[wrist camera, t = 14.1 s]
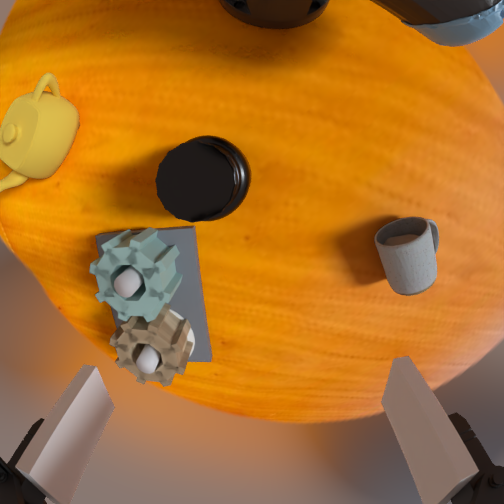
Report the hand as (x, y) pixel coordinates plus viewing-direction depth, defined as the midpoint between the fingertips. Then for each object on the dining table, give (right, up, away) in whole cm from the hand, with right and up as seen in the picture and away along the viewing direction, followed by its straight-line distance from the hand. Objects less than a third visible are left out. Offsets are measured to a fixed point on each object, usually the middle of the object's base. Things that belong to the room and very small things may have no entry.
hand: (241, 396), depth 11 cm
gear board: (-13, -1, +28) cm, 31 cm away
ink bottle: (-4, +15, +24) cm, 28 cm away
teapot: (-29, +23, +22) cm, 42 cm away
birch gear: (-13, -6, +28) cm, 31 cm away
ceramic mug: (+22, +7, +26) cm, 34 cm away
